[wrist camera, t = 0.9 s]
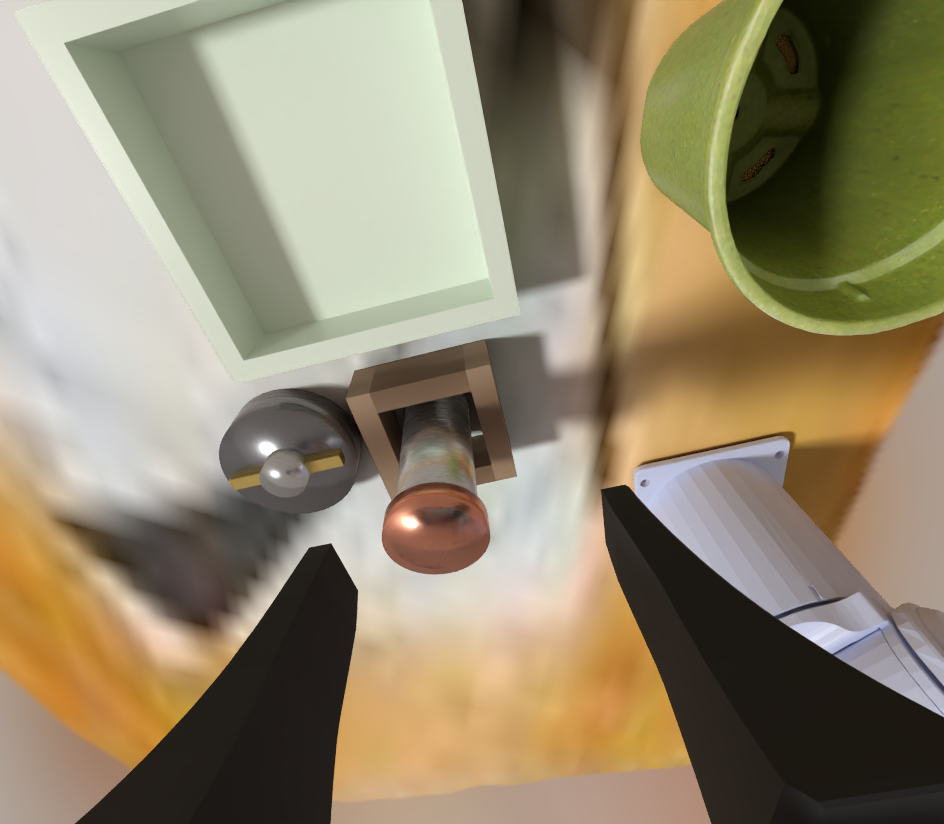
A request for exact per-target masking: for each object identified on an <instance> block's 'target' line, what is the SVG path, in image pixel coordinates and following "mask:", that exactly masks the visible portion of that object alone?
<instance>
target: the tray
mask: <svg viewBox="0 0 944 824" xmlns="http://www.w3.org/2000/svg"><path fill="white" fill-rule="evenodd" d="M12 13H13V15H14V16H15V18H16V20H17V21H18V23H19V25H20V26H21V28H22V30H23V31H24V33H25V35H26V37H27V38H28V40H29V42H30V43H31V45H32V47H33V48H34V50H35V52H36V53H37V55H38V57H39V58H40V60H41V62H42V63H43V65H44V67H45V68H46V70H47V72H48V73H49V75H50V77H51V78H52V80H53V82H54V83H55V85H56V87H57V88H58V90H59V92H60V93H61V95H62V97H63V98H64V100H65V102H66V103H67V105H68V107H69V108H70V110H71V112H72V113H73V115H74V117H75V118H76V120H77V122H78V123H79V125H80V127H81V128H82V130H83V132H84V133H85V135H86V137H87V138H88V140H89V142H90V144H91V145H92V147H93V149H94V150H95V152H96V154H97V155H98V157H99V159H100V160H101V162H102V164H103V165H104V167H105V169H106V170H107V172H108V174H109V175H110V177H111V179H112V180H113V182H114V184H115V185H116V187H117V189H118V190H119V192H120V194H121V195H122V197H123V199H124V200H125V202H126V204H127V205H128V207H129V209H130V210H131V212H132V214H133V215H134V217H135V219H136V220H137V222H138V224H139V225H140V227H141V229H142V230H143V232H144V234H145V235H146V237H147V239H148V240H149V242H150V244H151V246H152V247H153V249H154V251H155V252H156V254H157V256H158V257H159V259H160V261H161V262H162V264H163V266H164V267H165V269H166V271H167V272H168V274H169V276H170V277H171V279H172V281H173V282H174V284H175V286H176V287H177V289H178V291H179V292H180V294H181V296H182V297H183V299H184V301H185V302H186V304H187V306H188V307H189V309H190V311H191V312H192V314H193V316H194V317H195V319H196V321H197V322H198V324H199V326H200V327H201V329H202V331H203V332H204V334H205V336H206V337H207V339H208V341H209V342H210V344H211V346H212V347H213V349H214V351H215V353H216V354H217V356H218V358H219V359H220V361H221V363H222V364H223V366H224V368H225V369H226V371H227V373H228V374H229V376H230V378H231V379H232V381H233V383H234V384H237V383H242V382H246V381H250V380H254V379H258V378H262V377H266V376H270V375H274V374H278V373H282V372H286V371H291V370H295V369H299V368H303V367H307V366H311V365H315V364H319V363H323V362H327V361H331V360H335V359H340V358H344V357H348V356H352V355H356V354H360V353H364V352H368V351H372V350H376V349H380V348H385V347H389V346H393V345H397V344H401V343H405V342H409V341H413V340H417V339H421V338H425V337H429V336H434V335H438V334H442V333H446V332H450V331H454V330H458V329H462V328H466V327H470V326H474V325H478V324H483V323H487V322H491V321H495V320H499V319H503V318H507V317H511V316H515V315H519V314H521V313H520V308H519V302H518V297H517V292H516V286H515V281H514V276H513V270H512V265H511V260H510V254H509V249H508V244H507V238H506V233H505V228H504V222H503V217H502V212H501V206H500V201H499V196H498V190H497V185H496V180H495V174H494V169H493V164H492V158H491V153H490V148H489V142H488V137H487V132H486V126H485V121H484V116H483V110H482V105H481V100H480V94H479V89H478V83H477V78H476V73H475V67H474V62H473V57H472V51H471V46H470V41H469V35H468V30H467V25H466V19H465V14H464V9H463V3H462V0H49V1H46V2H43V3H40V4H37V5H34V6H31V7H28V8H25V9H22V10H18V11H15V12H12Z"/></svg>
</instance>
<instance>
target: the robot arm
mask: <svg viewBox="0 0 944 824" xmlns="http://www.w3.org/2000/svg"><path fill="white" fill-rule="evenodd" d="M789 449H790V442H789V440H788V439H787V438H786V437H784V436H775V437H771V438H766V439H761V440H757V441H752V442H747V443H743V444H738V445H734V446H729V447H724V448H720V449H715V450H710V451H706V452H701V453H696V454H692V455H687V456H682V457H678V458H673V459H668V460H664V461H659V462H654V463H650V464H645V465H641V466H639V467H637V468H636V469H635V470H634V472H633V481H634V492H633V491H632V490H631V489H630V487H628V486H626V485H621V486H616V487H611V488H606V489H601V495H602V506H603V517H604V528H605V539H606V545H607V548H608V551H609V554H610V558H611V561H612V564H613V567H614V570H615V573H616V576H617V579H618V581H619V584H620V586H621V588H622V591H623V593H624V595H625V597H626V599H627V602H628V604H629V606H630V608H631V611H632V613H633V615H634V617H635V619H636V622H637V624H638V626H639V628H640V630H641V633H642V635H643V637H644V639H645V642H646V644H647V646H648V648H649V650H650V653H651V655H652V657H653V659H654V661H655V664H656V666H657V668H658V671H659V673H660V676H661V678H662V681H663V683H664V686H665V689H666V691H667V694H668V697H669V700H670V703H671V706H672V708H673V711H674V714H675V717H676V720H677V723H678V726H679V728H680V731H681V734H682V737H683V740H684V743H685V746H686V749H687V752H688V755H689V758H690V761H691V764H692V766H693V769H694V772H695V775H696V778H697V781H698V784H699V787H700V790H701V793H702V796H703V800H704V802H705V806H706V808H707V812H708V815H709V818H710V821H711V823H712V824H944V613H943V612H941V611H939V610H934V609H930V608H924V607H920V606H918V605H915V604H912V603H905V604H902V605H900V606H899V607H897V608H896V609H894V608H892V607H891V606H890V605H889V604H888V603H887V602H886V601H885V600H884V599H883V598H882V596H880V594H879V593H878V592H877V591H876V590H875V589H874V588H873V587H872V586H871V584H870V583H869V582H868V581H867V580H866V579H865V578H864V577H863V576H862V575H861V574H860V572H859V571H858V570H857V569H856V568H855V567H854V566H853V565H852V564H851V562H850V561H849V560H848V559H847V558H846V557H845V556H844V555H843V554H842V553H841V551H840V550H839V549H838V548H837V547H836V546H835V545H834V544H833V543H832V542H831V540H830V539H829V538H828V537H827V536H826V535H825V534H824V533H823V532H822V531H821V529H820V528H819V527H818V526H817V525H816V524H815V523H814V522H813V521H812V520H811V518H810V517H809V516H808V515H807V514H806V513H805V512H804V511H803V510H802V509H801V507H800V506H799V505H798V504H797V503H796V502H795V501H794V500H793V499H792V498H791V496H790V495H789V494H788V493H787V492H786V491H785V490H784V489H783V482H784V477H785V471H786V466H787V460H788V455H789ZM777 452H778V453H777ZM643 480H646V481H644V482H642V481H643ZM357 601H358V590H357V588H356V586H355V585H354V583H353V581H352V579H351V577H350V576H349V574H348V572H347V570H346V569H345V567H344V565H343V563H342V562H341V560H340V558H339V556H338V555H337V553H336V551H335V549H334V548H333V546H332V544H326V545H321V546H316V547H311V548H309V549H308V551H307V552H306V553H305V555H304V556H303V558H302V559H301V561H300V562H299V564H298V565H297V567H296V568H295V570H294V571H293V573H292V574H291V576H290V577H289V579H288V580H287V582H286V583H285V585H284V586H283V588H282V589H281V591H280V592H279V594H278V595H277V597H276V598H275V600H274V601H273V603H272V604H271V606H270V607H269V609H268V610H267V611H266V613H265V614H264V616H263V617H262V619H261V620H260V622H259V623H258V625H257V626H256V627H255V629H254V630H253V631H252V633H251V634H250V635H249V637H248V638H247V639H246V641H245V642H244V644H243V645H242V646H241V648H240V649H239V650H238V652H237V653H236V654H235V656H234V657H233V658H232V660H231V661H230V662H229V664H228V665H227V666H226V667H225V669H224V670H223V671H222V672H221V674H220V675H219V676H218V677H217V679H216V680H215V681H214V682H213V684H212V685H211V686H210V687H209V688H208V689H207V691H206V692H205V693H204V694H203V695H202V696H201V698H200V699H199V700H198V701H197V702H196V704H195V705H194V706H193V707H192V708H191V709H190V710H189V711H188V713H187V714H186V715H185V716H184V717H183V718H182V719H181V720H180V721H179V722H178V723H177V724H176V725H175V727H174V728H173V729H172V730H171V731H170V732H169V733H168V734H167V735H166V736H165V737H164V738H163V739H162V740H161V741H160V743H159V744H158V745H157V746H156V747H155V748H154V749H153V750H152V751H151V752H150V753H149V754H148V755H147V756H146V757H145V758H144V759H143V760H142V761H141V762H140V763H139V764H138V765H137V766H136V767H135V768H134V769H133V770H132V771H131V772H130V773H129V774H128V775H127V776H126V777H125V778H124V779H123V780H122V781H121V782H120V783H119V784H118V785H117V786H116V787H115V788H113V789H112V790H111V791H110V792H109V793H108V794H107V795H106V796H105V797H104V798H103V799H102V800H101V801H100V802H99V803H98V804H97V805H95V806H94V807H93V808H92V809H91V810H90V811H89V812H88V813H87V814H86V815H84V816H83V817H82V818H81V819H80V820H79V821H78V822H76V823H75V824H330V822H331V807H332V792H333V778H334V767H335V756H336V744H337V736H338V729H339V722H340V716H341V710H342V705H343V699H344V694H345V688H346V683H347V677H348V672H349V666H350V661H351V655H352V649H353V643H354V638H355V631H356V620H357Z"/></svg>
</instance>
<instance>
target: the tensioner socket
mask: <svg viewBox="0 0 944 824" xmlns="http://www.w3.org/2000/svg"><path fill="white" fill-rule="evenodd" d="M466 392H472V396H473V400H474V403H475V407H476V410H477V414H478V418H479V421H480V425H481V429H482V432H483V435H481V436H476V437H472V447H473V457H474V468H475V478H476V485H480V484H484V483H489V482H493V481H498V480H502V479H507V478H512V477H516V476H517V474H516V470H515V465H514V460H513V455H512V451H511V446H510V442H509V437H508V433H507V429H506V425H505V421H504V417H503V412H502V408H501V404H500V400H499V396H498V392H497V387H496V383H495V379H494V375H493V371H492V366H491V362H490V358H489V354H488V350H487V346H486V341H485V340H481V341H477V342H473V343H468V344H464V345H460V346H456V347H452V348H448V349H444V350H440V351H435V352H431V353H427V354H423V355H419V356H415V357H411V358H406V359H402V360H398V361H394V362H390V363H386V364H382V365H378V366H373V367H369V368H365V369H361V370H357V371H354V374H353V377H352V380H351V384H350V387H349V390H348V393H347V396H346V401H347V403H348V405H349V408H350V410H351V412H352V414H353V416H354V419H355V421H356V423H357V425H358V427H359V430H360V432H361V434H362V436H363V438H364V441H365V443H366V445H367V447H368V449H369V452H370V454H371V456H372V458H373V460H374V463H375V465H376V467H377V469H378V471H379V474H380V476H381V478H382V480H383V482H384V485H385V487H386V489H387V491H388V493H389V496H390V498H391V500H393V499H394V498H395V497H396V489H397V480H398V471H399V462H400V453H401V445H402V436H403V433H402V431H401V428H400V426H399V423H398V421H397V418H396V416H395V413H394V411H393V410H394V409H398V408H402V407H407V406H411V405H415V404H419V403H424V402H428V401H432V400H437V399H441V398H445V397H449V396H454V395H458V394H462V393H466Z"/></svg>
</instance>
